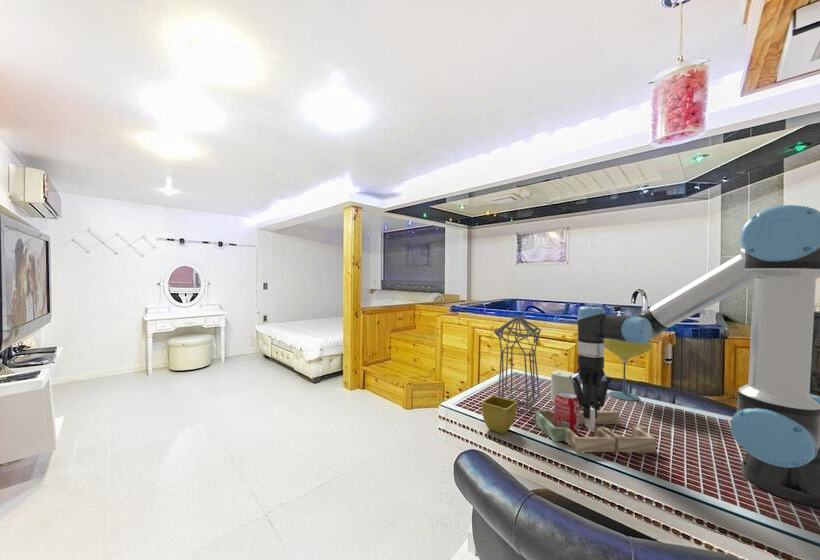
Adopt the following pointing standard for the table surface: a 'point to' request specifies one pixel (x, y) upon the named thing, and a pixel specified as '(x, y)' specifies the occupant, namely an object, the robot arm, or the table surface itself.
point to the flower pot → (499, 413)
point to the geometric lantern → (498, 332)
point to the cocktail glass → (625, 360)
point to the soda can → (567, 411)
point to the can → (561, 383)
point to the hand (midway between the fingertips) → (590, 428)
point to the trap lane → (597, 434)
